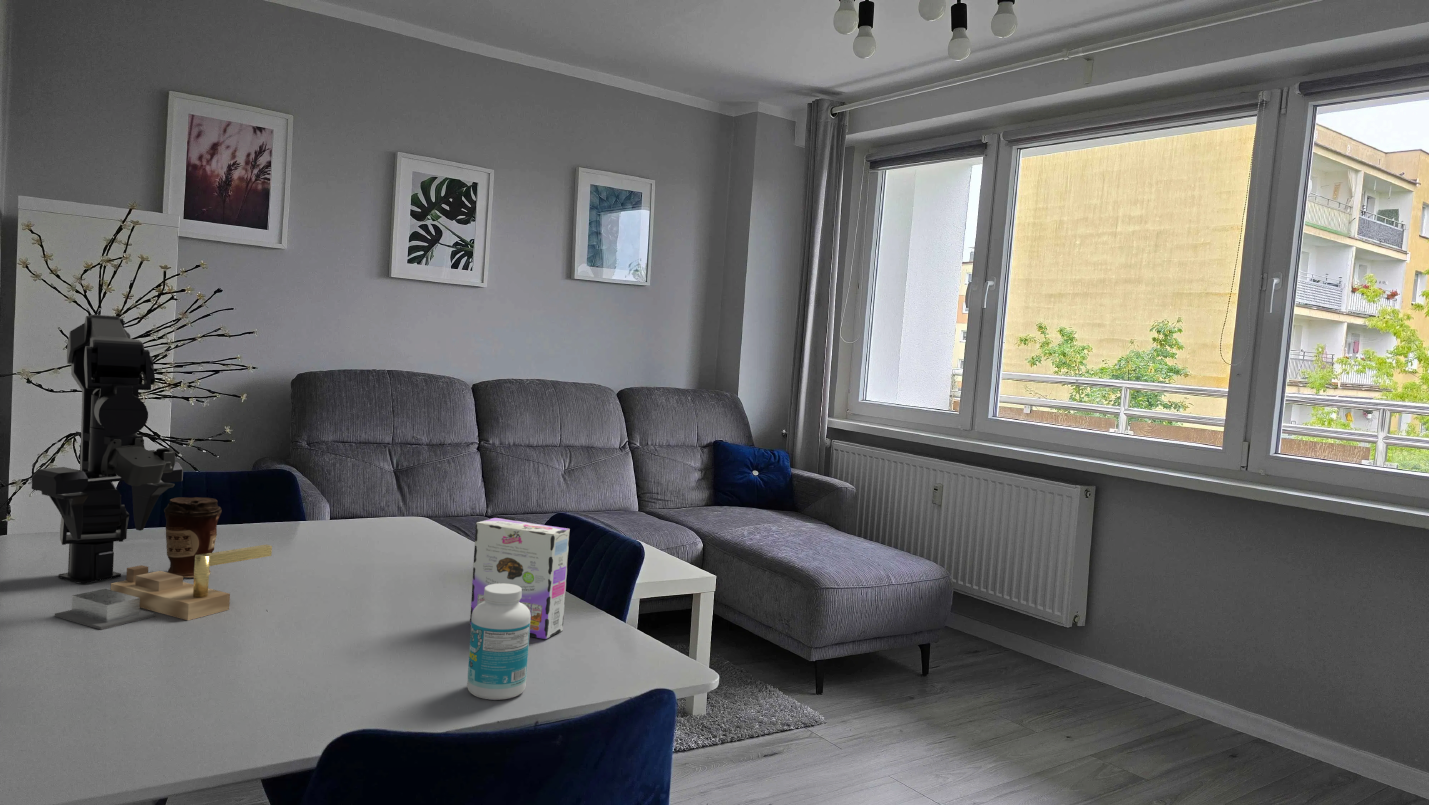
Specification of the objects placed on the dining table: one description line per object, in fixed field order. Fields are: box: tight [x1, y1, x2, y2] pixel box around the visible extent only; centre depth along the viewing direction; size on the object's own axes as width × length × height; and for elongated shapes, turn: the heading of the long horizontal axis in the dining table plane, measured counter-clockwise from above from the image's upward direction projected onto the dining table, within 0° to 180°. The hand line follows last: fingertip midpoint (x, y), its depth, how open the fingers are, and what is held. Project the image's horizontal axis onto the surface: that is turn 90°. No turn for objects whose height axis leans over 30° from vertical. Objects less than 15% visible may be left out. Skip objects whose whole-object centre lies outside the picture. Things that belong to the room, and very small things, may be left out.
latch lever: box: [192, 544, 273, 597], centre depth 146 cm, size 12×2×6 cm, turn 150°
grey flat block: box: [71, 588, 140, 623], centre depth 137 cm, size 8×5×2 cm, turn 67°
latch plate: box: [110, 564, 231, 621], centre depth 145 cm, size 17×7×4 cm, turn 67°
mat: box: [54, 609, 156, 631], centre depth 137 cm, size 10×8×1 cm
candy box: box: [469, 517, 571, 640], centre depth 147 cm, size 14×6×16 cm, turn 71°
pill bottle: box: [466, 583, 531, 701], centre depth 121 cm, size 8×7×14 cm
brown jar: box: [163, 496, 223, 578], centre depth 161 cm, size 9×8×13 cm
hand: (109, 534), depth 136 cm, fingers open, 9 cm apart
